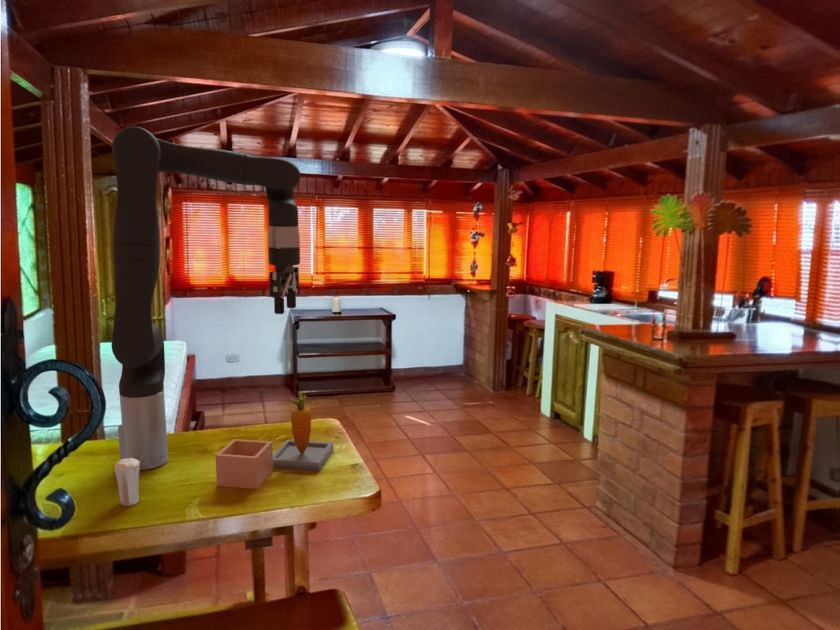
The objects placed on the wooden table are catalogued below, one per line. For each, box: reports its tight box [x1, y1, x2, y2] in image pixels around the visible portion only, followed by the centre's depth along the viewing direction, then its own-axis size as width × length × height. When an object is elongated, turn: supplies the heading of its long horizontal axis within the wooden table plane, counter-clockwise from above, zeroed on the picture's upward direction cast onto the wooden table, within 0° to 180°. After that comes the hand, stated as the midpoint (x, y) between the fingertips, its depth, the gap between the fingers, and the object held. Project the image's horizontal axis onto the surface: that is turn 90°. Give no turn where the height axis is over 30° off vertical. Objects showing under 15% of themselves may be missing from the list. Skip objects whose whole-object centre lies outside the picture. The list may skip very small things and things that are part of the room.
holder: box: [215, 438, 274, 490], centre depth 129 cm, size 9×9×7 cm
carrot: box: [290, 391, 312, 454], centre depth 139 cm, size 5×5×15 cm
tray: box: [273, 439, 334, 472], centre depth 140 cm, size 12×12×2 cm
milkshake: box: [114, 455, 143, 507], centre depth 117 cm, size 4×5×10 cm
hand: (285, 310), depth 145 cm, fingers open, 8 cm apart
